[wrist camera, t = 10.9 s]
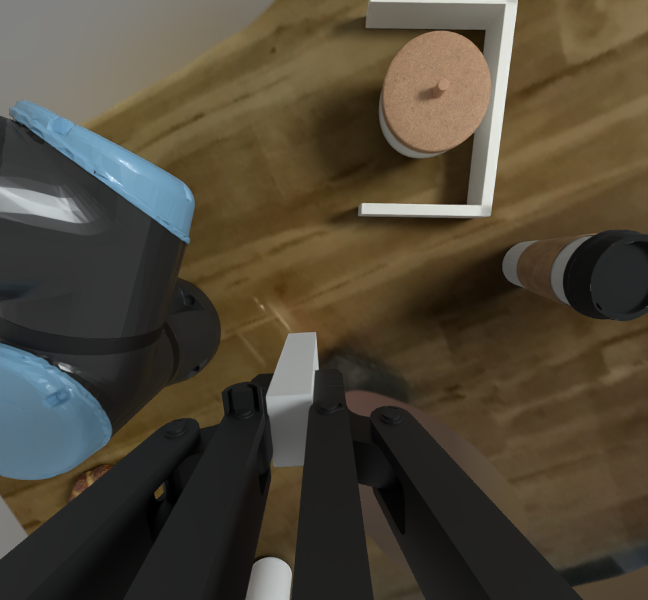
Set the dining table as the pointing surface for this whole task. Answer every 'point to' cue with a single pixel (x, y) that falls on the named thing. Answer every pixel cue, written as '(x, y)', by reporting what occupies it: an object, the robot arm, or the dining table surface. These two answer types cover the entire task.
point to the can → (269, 580)
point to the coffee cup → (586, 272)
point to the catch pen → (499, 21)
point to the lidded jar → (434, 94)
